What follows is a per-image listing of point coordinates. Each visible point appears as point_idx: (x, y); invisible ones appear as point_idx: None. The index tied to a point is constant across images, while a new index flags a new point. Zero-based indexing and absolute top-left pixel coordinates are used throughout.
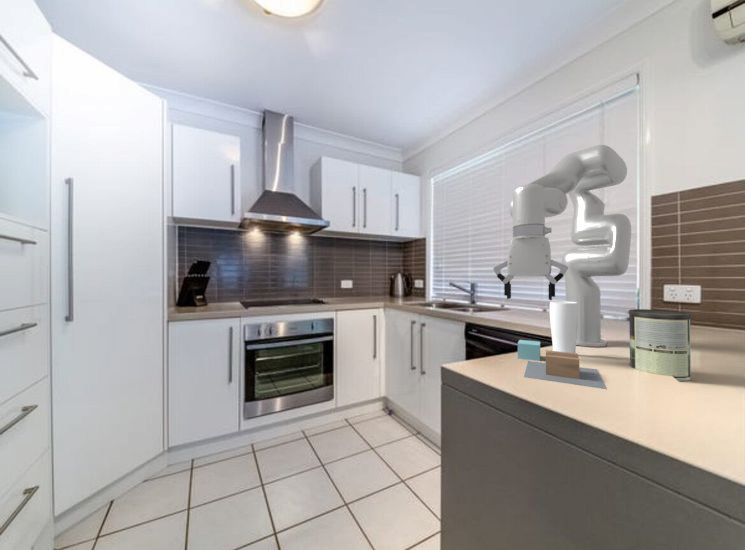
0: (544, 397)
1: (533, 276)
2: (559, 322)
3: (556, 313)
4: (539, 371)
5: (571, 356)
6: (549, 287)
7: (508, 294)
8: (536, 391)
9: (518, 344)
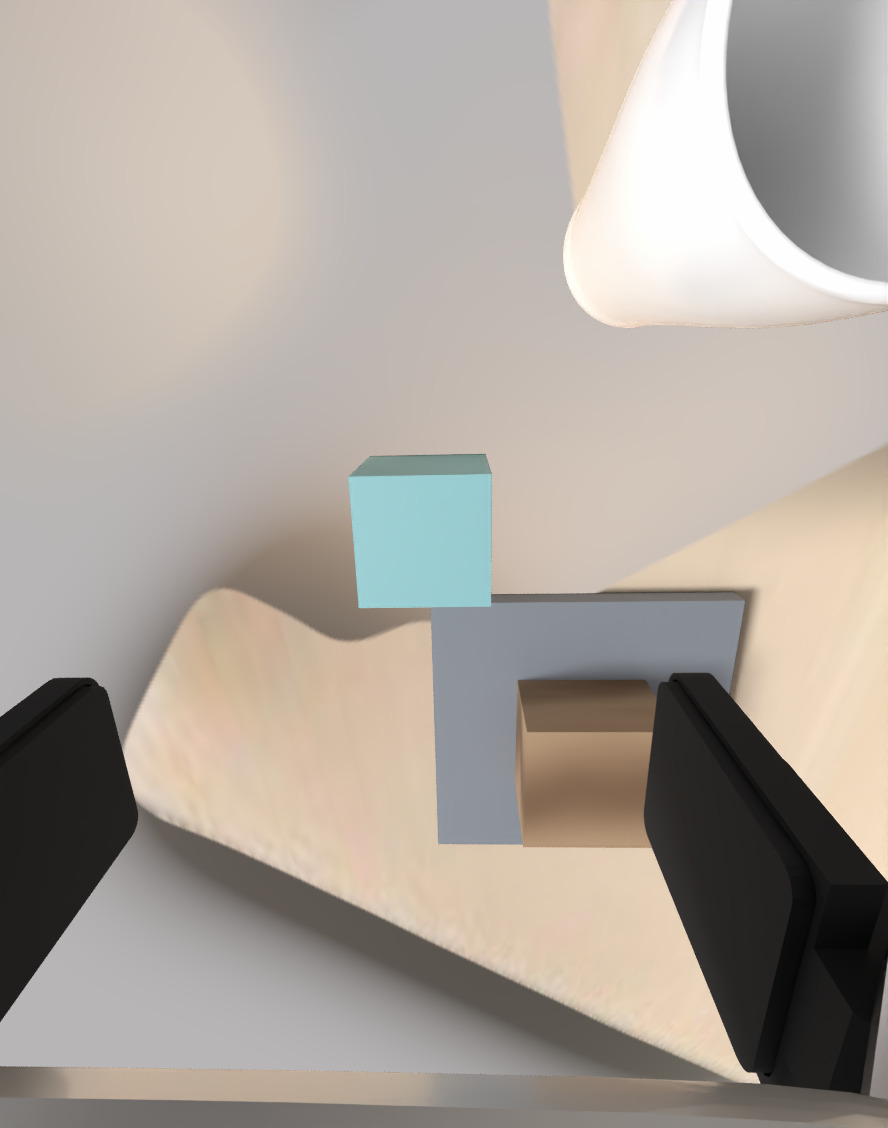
0: (508, 925)
1: (397, 1107)
2: (692, 322)
3: (707, 298)
4: (490, 755)
5: (636, 806)
6: (734, 1020)
7: (90, 879)
8: (485, 893)
9: (365, 604)
